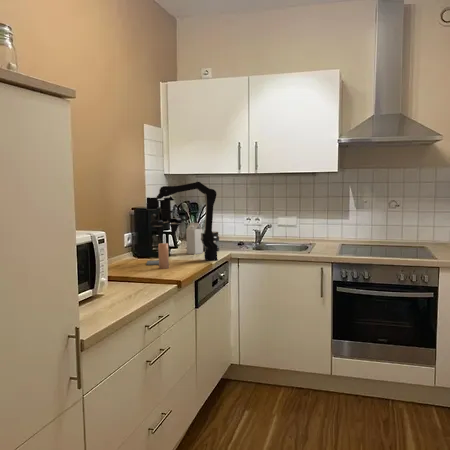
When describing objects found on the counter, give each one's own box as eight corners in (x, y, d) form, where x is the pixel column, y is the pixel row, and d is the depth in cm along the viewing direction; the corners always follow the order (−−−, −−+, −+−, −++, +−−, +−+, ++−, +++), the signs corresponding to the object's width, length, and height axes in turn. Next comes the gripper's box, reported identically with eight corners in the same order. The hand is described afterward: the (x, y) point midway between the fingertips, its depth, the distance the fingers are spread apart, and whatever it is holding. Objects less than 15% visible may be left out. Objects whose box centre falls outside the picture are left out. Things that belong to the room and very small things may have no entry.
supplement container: (209, 249, 308) (209, 231, 307) (222, 250, 302) (222, 231, 301) (199, 251, 299) (199, 232, 298) (213, 252, 293) (212, 233, 292)
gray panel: (167, 261, 260) (167, 259, 260) (167, 264, 249) (167, 263, 249) (147, 262, 259) (147, 260, 259) (146, 265, 248) (146, 263, 248)
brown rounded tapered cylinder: (168, 267, 241) (168, 243, 240) (168, 268, 237) (168, 244, 235) (159, 267, 241) (158, 243, 240) (158, 269, 236) (158, 244, 235)
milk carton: (194, 252, 294) (193, 222, 293) (203, 253, 290) (202, 222, 288) (186, 253, 289) (185, 223, 287) (195, 254, 284) (194, 223, 283)
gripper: (167, 208, 267) (168, 235, 269) (142, 210, 253) (144, 239, 254) (181, 208, 261) (182, 235, 262) (157, 210, 246) (158, 239, 247)
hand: (167, 237), depth 257 cm, fingers open, 9 cm apart
